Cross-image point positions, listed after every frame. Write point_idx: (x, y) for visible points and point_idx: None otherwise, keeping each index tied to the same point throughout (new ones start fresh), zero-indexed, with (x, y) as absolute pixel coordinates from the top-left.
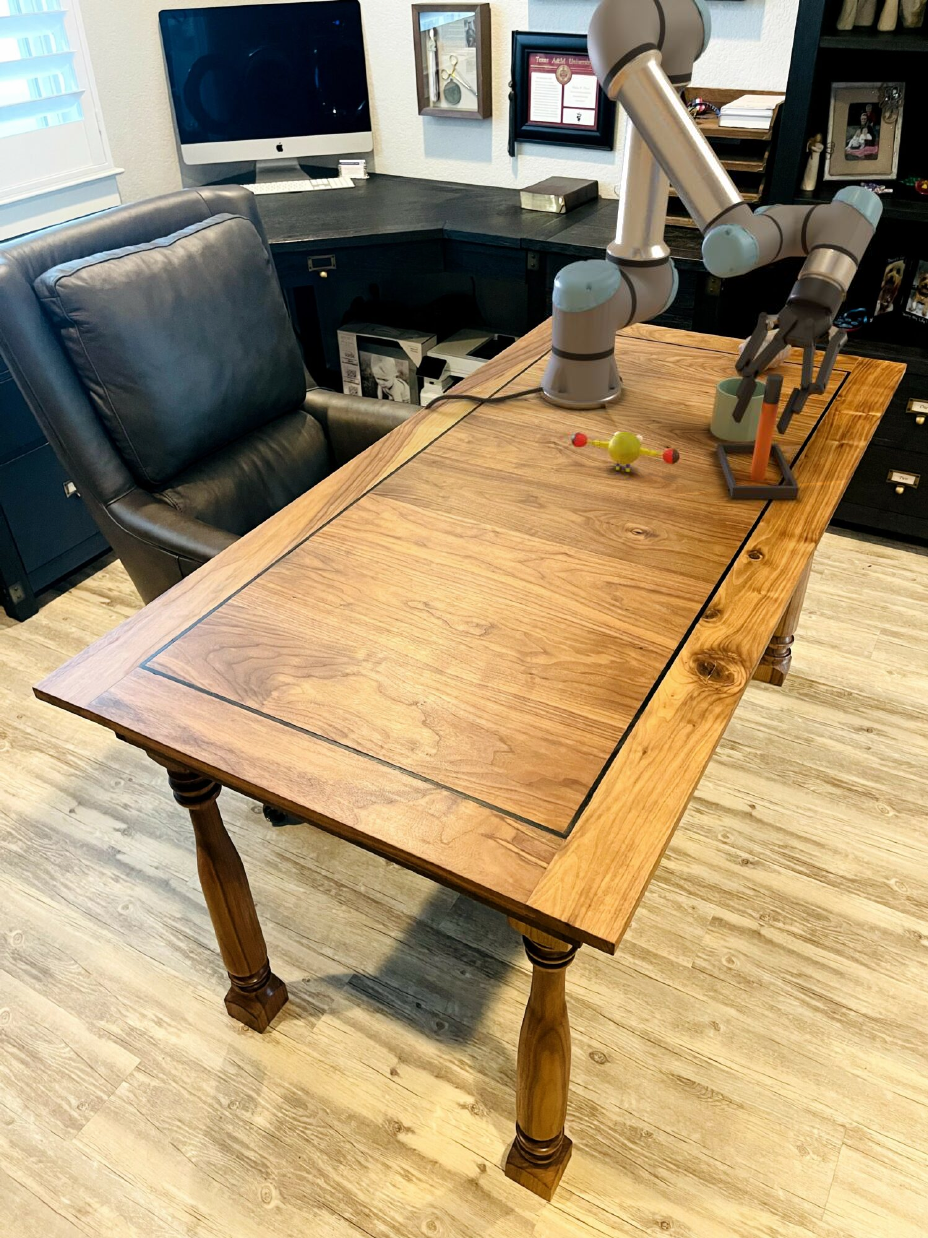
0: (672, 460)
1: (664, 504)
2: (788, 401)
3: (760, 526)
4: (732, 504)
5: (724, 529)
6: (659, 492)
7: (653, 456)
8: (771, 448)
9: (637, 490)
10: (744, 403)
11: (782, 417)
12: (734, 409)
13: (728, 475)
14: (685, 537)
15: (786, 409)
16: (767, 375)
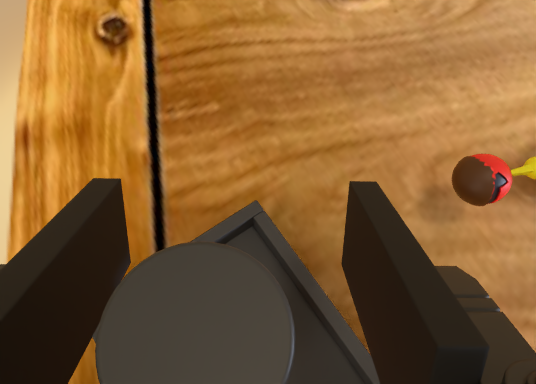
0: (460, 160)
1: (376, 101)
2: (47, 254)
3: (140, 132)
4: (241, 188)
5: (208, 80)
6: (421, 142)
7: (524, 164)
8: None
9: (467, 122)
10: (366, 258)
11: (89, 202)
12: (382, 194)
13: (304, 265)
14: (264, 16)
15: (63, 226)
16: (288, 310)
